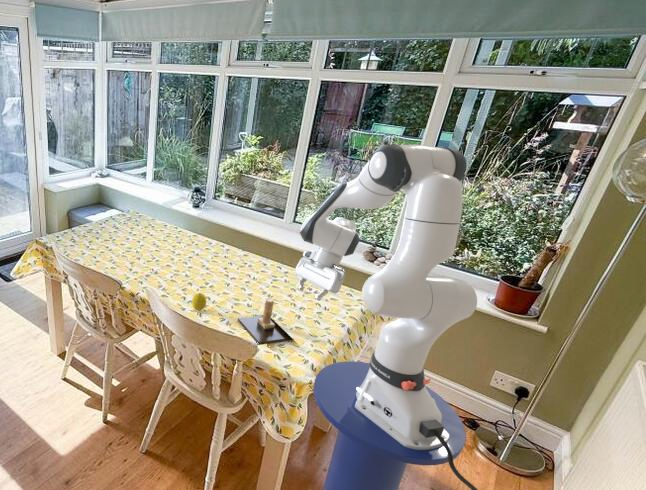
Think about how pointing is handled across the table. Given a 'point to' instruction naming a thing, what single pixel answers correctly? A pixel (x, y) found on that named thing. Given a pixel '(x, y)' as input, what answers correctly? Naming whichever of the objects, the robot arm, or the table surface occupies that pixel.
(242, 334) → the table surface
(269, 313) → the brush
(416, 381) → the robot arm
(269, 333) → the tablet
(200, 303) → the lemon
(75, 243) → the table surface
